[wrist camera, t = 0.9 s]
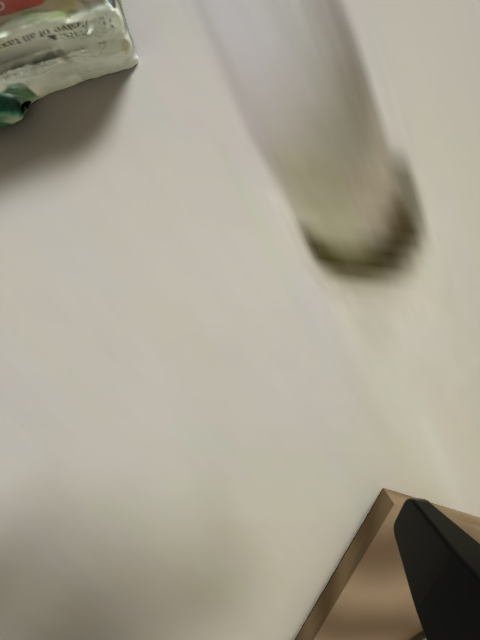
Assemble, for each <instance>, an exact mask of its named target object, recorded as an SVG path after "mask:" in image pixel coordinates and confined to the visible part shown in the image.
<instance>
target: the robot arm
mask: <svg viewBox="0 0 480 640" xmlns="http://www.w3.org/2000/svg"><path fill="white" fill-rule="evenodd" d="M394 536H395V539H396V543H397V546H398V550H399V553H400V557H401V561H402V564H403V568H404V571H405V575H406V578H407V582H408V585H409V589H410V592H411V596H412V599H413V602H414V606H415V609H416V612H417V615H418V617H419V620H420V623H421V626H422V629H423V631H424V634H425V637H426V639H427V640H480V543H478V542H477V541H476V540H475V539H474V538H472V537H471V536H470V535H469V534H468V533H466V532H465V531H464V530H463V529H461V528H460V527H459V526H458V525H457V524H455V523H454V522H453V521H452V520H451V519H449V518H448V517H447V516H446V515H445V514H443V513H442V512H441V511H440V510H439V509H437V508H436V507H435V506H434V505H433V504H431V503H430V502H429V501H427V500H425V499H419V498H408V499H406V500H405V502H404V504H403V506H402V508H401V510H400V512H399V514H398V516H397V518H396V520H395V522H394Z"/></svg>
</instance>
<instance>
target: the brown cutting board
mask: <svg viewBox="0 0 480 640" xmlns="http://www.w3.org/2000/svg"><path fill="white" fill-rule="evenodd" d="M408 498H413V497H410V496H407V495H404V494H400V493H397V492H394V491H391V490H387V489H384V488H383V490H382V492H381V493H380V495H379V497H378V499H377V500H376V502H375V504H374V505H373V507H372V509H371V511H370V512H369V514H368V516H367V517H366V519H365V521H364V523H363V524H362V526H361V528H360V529H359V531H358V533H357V535H356V536H355V538H354V540H353V541H352V543H351V545H350V547H349V548H348V550H347V552H346V553H345V555H344V557H343V559H342V560H341V562H340V564H339V565H338V567H337V569H336V571H335V572H334V574H333V576H332V577H331V579H330V581H329V583H328V584H327V586H326V588H325V589H324V591H323V593H322V595H321V596H320V598H319V600H318V601H317V603H316V605H315V607H314V608H313V610H312V612H311V614H310V615H309V617H308V619H307V620H306V622H305V624H304V626H303V627H302V629H301V631H300V632H299V634H298V636H297V638H296V639H295V640H423V639H425V638H426V637H425V634H424V631H423V629H422V626H421V623H420V620H419V617H418V615H417V612H416V609H415V606H414V602H413V599H412V596H411V592H410V589H409V585H408V582H407V578H406V575H405V571H404V568H403V564H402V561H401V557H400V553H399V550H398V546H397V543H396V539H395V536H394V522H395V520H396V518H397V516H398V514H399V512H400V510H401V508H402V506H403V504H404V502H405V500H406V499H408ZM431 504H433V503H431ZM433 505H434V506H435V507H436V508H437V509H439V510H440V511H441V512H442V513H443V514H445V515H446V516H447V517H448V518H449V519H451V520H452V521H453V522H454V523H455V524H457V525H458V526H459V527H460V528H461V529H463V530H464V531H465V532H466V533H468V534H469V535H470V536H471V537H472V538H474V539H475V540H476V541H477V542H478V543H480V518H478V517H475V516H472V515H469V514H465V513H462V512H459V511H456V510H452V509H449V508H446V507H443V506H439V505H436V504H433Z"/></svg>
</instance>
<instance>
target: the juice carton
mask: <svg viewBox="0 0 480 640" xmlns="http://www.w3.org/2000/svg"><path fill="white" fill-rule="evenodd" d="M137 63H138V56H137V54H136V51H135V47H134V44H133V41H132V38H131V35H130V32H129V29H128V26H127V23H126V19H125V16H124V13H123V9H122V5H121V1H120V0H0V129H2V128H3V127H5V126H9V125H12V124H14V123H16V122H17V121H19V120H21V119H23V118H24V115H25V113H26V111H27V109H28V107H29V106H30V105H31V104H32V103H33V102H34V101H35V100H37V99H40V98H42V97H44V96H45V95H48V94H50V93H52V92H56V91H58V90H61V89H66V88H68V87H70V86H73V85H76V84H78V83H80V82H82V81H85V80H88V79H92V78H97V77H100V76H103V75H106V74H110V73H115V72H119V71H121V70H125V69H130V68H132V67H133V66H135V65H136V64H137Z"/></svg>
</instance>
